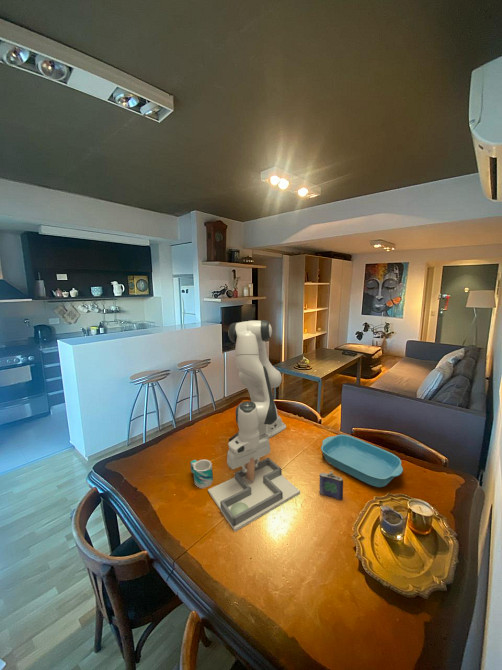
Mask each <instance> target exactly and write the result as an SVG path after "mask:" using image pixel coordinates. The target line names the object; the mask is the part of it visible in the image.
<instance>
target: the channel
mask: <svg viewBox="0 0 502 670" xmlns="http://www.w3.org/2000/svg"><path fill="white" fill-rule="evenodd" d="M282 472H283V470H282V468H281V467H280V466H279V465H278V464H277V463H276V462H274V461H273V460H272V459H271V458H269V457H267V458H265V459H261V460H259V462H258V467H256V468H255V478H254V479H252V480H248V479H247V478H246V472H245V473H244V472H243V471H242V469H240V470H238V471H237V470H236V472H234V477H231V478H230V479H228V480H226V481H223V482H221V483H220V484H217V485H214V486H212V487H211V488H208V489H207V492H208V494H209V495H210V497H211V498H212V500H213V501H214V503H215V504H216V506H217V508H218V509H219V511H220V512H221V514H222V515H223V516H224V518H225V519H226V521H227V522H228V523H229V525H230V526H231V528H232V530H233V531H234V532H237V531H239V530H241V529H242V528H244V527H245V526H248V525H250V524H251V523H253V522H254V521H256V520H258V519H259V518H261V517H263V516H265V515H266V514H268V513H270V512H271V511H273V510H274V509H276V508H278V507H281V506H282V505H283V504H285V503H286V502H289V501H291V500H292V499H293V498H295V497H297V496H298V495H300V494H301V491H300V489H298V487H296V486H295V485H294V484H293V483H292V482H291V481H290V480H288V479H287V478H286V477H285V476H284V475H283V473H282ZM239 502H242V503H245V504H246V505H247V506H248V509H246V510H245V511H243V512H241V513H239V514H237V515H236V516H233V514H232V513H231V511H230V509H231V507H232V506H233V505H234V504H235V503H239Z"/></svg>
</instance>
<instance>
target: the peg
mask: <svg viewBox="0 0 502 670" xmlns="http://www.w3.org/2000/svg"><path fill="white" fill-rule="evenodd" d="M245 467H246V468H247V472H246V478H247V479H248V480H252V479H254V478H255V460H254V457H253V458H251V459H250V462H249V463H247V464H245Z"/></svg>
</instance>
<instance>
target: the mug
mask: <svg viewBox="0 0 502 670" xmlns="http://www.w3.org/2000/svg"><path fill="white" fill-rule="evenodd" d="M189 465H190V472H191V473H192V474H193V481H194V485H196V486H197V487H196V486H195V487H196V488H198V487H199V489H206V487H207V488H209V487H210V486H211V485H212V484H213V481H214V476H213V475H214V474H213V463H212V462H211V460H208V459H205V458H204V459H199V460H196V459H193V460H191V461H190V464H189Z"/></svg>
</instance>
